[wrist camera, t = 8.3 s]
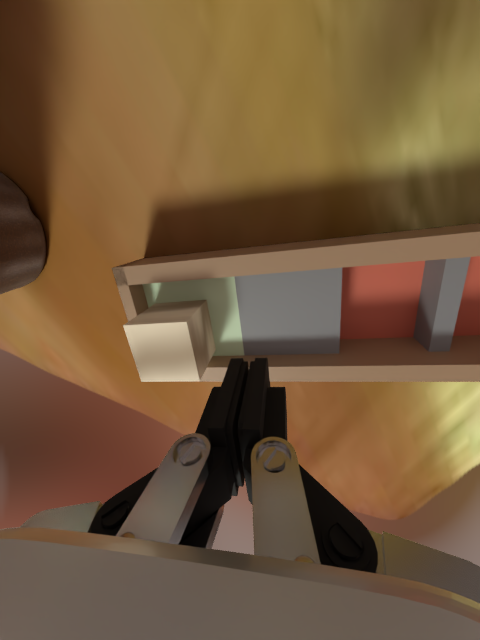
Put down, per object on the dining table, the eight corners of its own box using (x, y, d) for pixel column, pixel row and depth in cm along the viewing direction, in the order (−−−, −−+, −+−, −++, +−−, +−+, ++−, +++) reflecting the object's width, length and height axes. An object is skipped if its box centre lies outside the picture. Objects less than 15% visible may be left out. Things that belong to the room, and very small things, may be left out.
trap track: (143, 258, 24) (111, 267, 20) (576, 212, 18) (676, 212, 13) (168, 354, 29) (146, 381, 24) (528, 347, 22) (592, 381, 17)
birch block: (154, 303, 23) (123, 325, 18) (206, 299, 22) (186, 321, 17) (167, 351, 25) (141, 381, 20) (215, 349, 24) (199, 381, 19)
